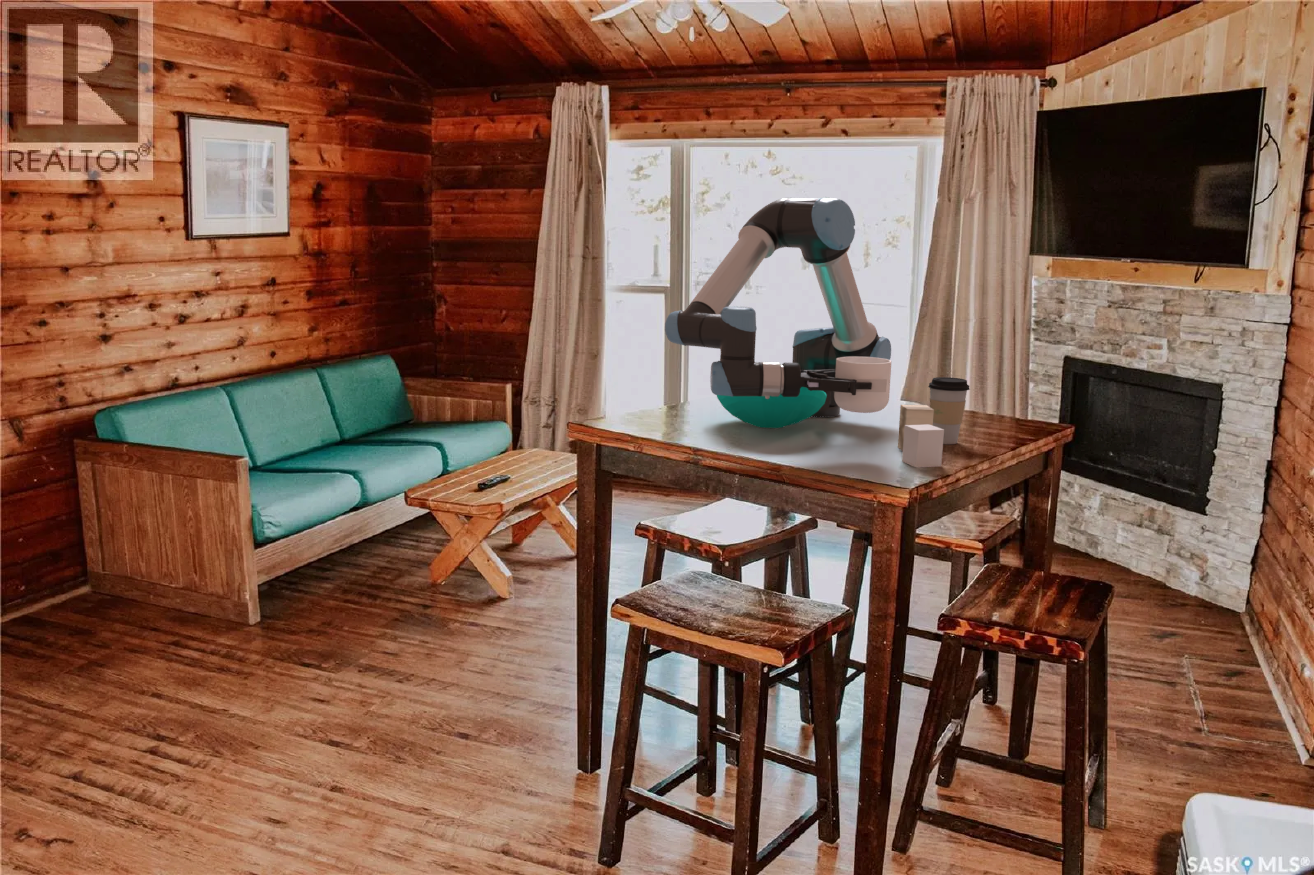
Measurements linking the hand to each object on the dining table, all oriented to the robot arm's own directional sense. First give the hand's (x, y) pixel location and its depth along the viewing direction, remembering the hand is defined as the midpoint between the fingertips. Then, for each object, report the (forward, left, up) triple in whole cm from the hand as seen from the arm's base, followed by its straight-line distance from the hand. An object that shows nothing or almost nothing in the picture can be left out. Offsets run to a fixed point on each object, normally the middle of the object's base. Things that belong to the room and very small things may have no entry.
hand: (879, 381), depth 228 cm
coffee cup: (-16, +20, -17) cm, 31 cm away
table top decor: (-32, -20, -17) cm, 41 cm away
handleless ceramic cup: (0, -4, -7) cm, 8 cm away
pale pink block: (+8, +8, -17) cm, 20 cm away
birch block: (-6, +10, -17) cm, 21 cm away
